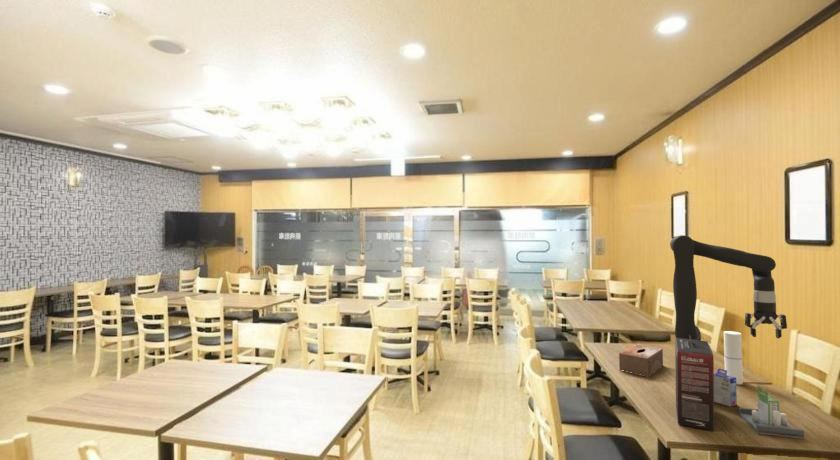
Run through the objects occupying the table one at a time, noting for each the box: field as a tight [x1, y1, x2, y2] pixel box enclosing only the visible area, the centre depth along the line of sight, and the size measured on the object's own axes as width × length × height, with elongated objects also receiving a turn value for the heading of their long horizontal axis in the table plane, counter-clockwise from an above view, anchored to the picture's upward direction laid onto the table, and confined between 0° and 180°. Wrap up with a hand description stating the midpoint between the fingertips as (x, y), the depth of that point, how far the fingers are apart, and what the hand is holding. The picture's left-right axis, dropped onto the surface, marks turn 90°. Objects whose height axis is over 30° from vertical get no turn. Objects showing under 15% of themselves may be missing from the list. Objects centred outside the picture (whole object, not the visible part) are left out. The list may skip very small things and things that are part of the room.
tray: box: [738, 406, 805, 440], centre depth 158 cm, size 14×17×8 cm
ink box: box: [756, 385, 780, 426], centre depth 159 cm, size 7×4×13 cm, turn 166°
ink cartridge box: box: [714, 368, 738, 408], centre depth 181 cm, size 10×6×14 cm, turn 27°
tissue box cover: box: [618, 343, 664, 377], centre depth 229 cm, size 26×14×10 cm, turn 133°
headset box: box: [674, 335, 715, 432], centre depth 168 cm, size 24×13×33 cm, turn 149°
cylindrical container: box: [723, 330, 744, 385], centre depth 206 cm, size 7×7×25 cm
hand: (766, 337), depth 178 cm, fingers open, 8 cm apart
